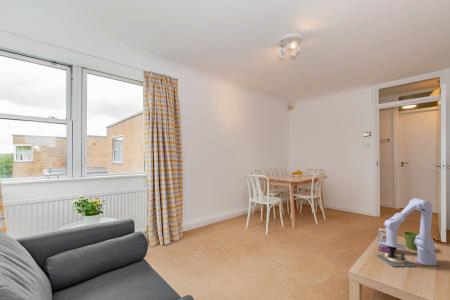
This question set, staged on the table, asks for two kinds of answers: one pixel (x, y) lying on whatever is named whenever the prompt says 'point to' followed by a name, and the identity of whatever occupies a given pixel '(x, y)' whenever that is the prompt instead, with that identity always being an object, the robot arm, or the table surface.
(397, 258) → the capstan wheel
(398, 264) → the stand
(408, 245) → the plant pot
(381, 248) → the candy bar box
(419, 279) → the table surface
